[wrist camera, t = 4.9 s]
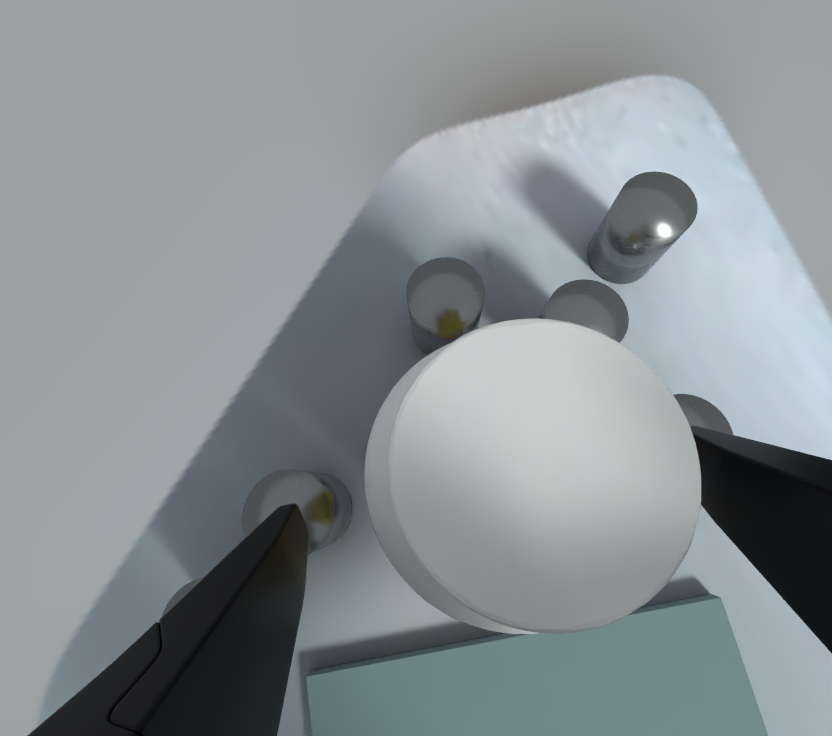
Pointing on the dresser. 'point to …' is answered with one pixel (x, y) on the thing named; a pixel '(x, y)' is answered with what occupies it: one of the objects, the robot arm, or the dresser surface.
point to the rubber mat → (553, 683)
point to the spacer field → (459, 314)
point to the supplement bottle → (533, 479)
